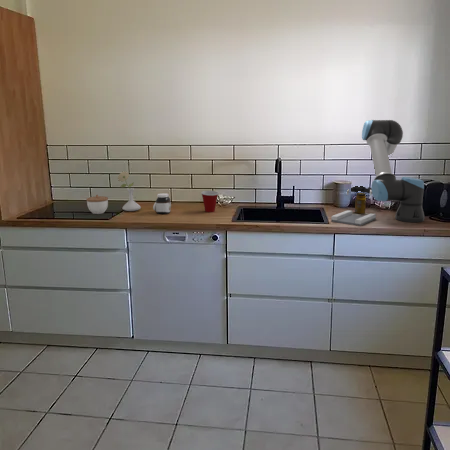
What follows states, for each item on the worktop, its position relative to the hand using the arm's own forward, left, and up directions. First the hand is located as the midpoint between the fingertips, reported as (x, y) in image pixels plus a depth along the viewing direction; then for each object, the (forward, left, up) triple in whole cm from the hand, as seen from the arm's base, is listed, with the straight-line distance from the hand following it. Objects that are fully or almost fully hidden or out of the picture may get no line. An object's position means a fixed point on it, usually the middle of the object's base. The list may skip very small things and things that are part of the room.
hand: (359, 193), depth 278 cm
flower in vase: (+111, +88, -11) cm, 142 cm away
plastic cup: (+70, +59, -11) cm, 92 cm away
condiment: (-4, +9, -11) cm, 15 cm away
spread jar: (+91, +80, -11) cm, 121 cm away
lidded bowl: (+122, +104, -11) cm, 160 cm away
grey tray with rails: (-10, +28, -10) cm, 32 cm away
